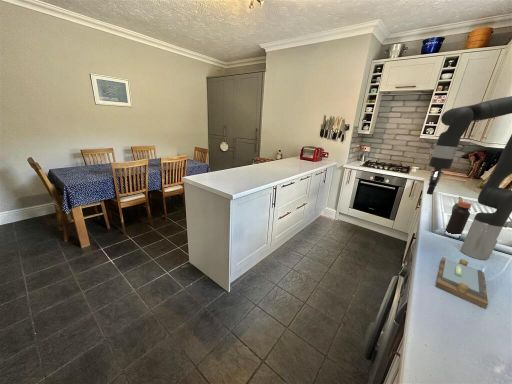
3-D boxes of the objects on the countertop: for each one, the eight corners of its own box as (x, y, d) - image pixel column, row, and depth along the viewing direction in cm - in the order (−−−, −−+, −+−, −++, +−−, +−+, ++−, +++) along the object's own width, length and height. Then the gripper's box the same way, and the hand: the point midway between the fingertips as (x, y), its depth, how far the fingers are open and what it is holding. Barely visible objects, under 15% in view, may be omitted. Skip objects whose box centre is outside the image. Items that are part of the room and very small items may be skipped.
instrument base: (440, 261, 92) (444, 252, 91) (482, 276, 84) (486, 267, 83) (435, 286, 77) (439, 276, 75) (485, 308, 68) (491, 298, 67)
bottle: (442, 234, 118) (455, 201, 111) (445, 231, 122) (458, 199, 115) (458, 240, 113) (473, 206, 106) (460, 236, 117) (475, 203, 110)
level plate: (444, 260, 89) (447, 255, 88) (480, 274, 82) (484, 268, 81) (441, 279, 77) (444, 273, 76) (483, 297, 70) (486, 290, 69)
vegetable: (456, 230, 124) (469, 199, 118) (448, 229, 125) (460, 198, 119) (451, 227, 129) (463, 196, 122) (443, 225, 129) (455, 195, 123)
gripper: (453, 159, 84) (438, 199, 89) (454, 157, 93) (441, 193, 98) (430, 156, 89) (417, 194, 94) (433, 154, 98) (421, 189, 103)
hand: (429, 193), depth 96 cm, fingers closed
